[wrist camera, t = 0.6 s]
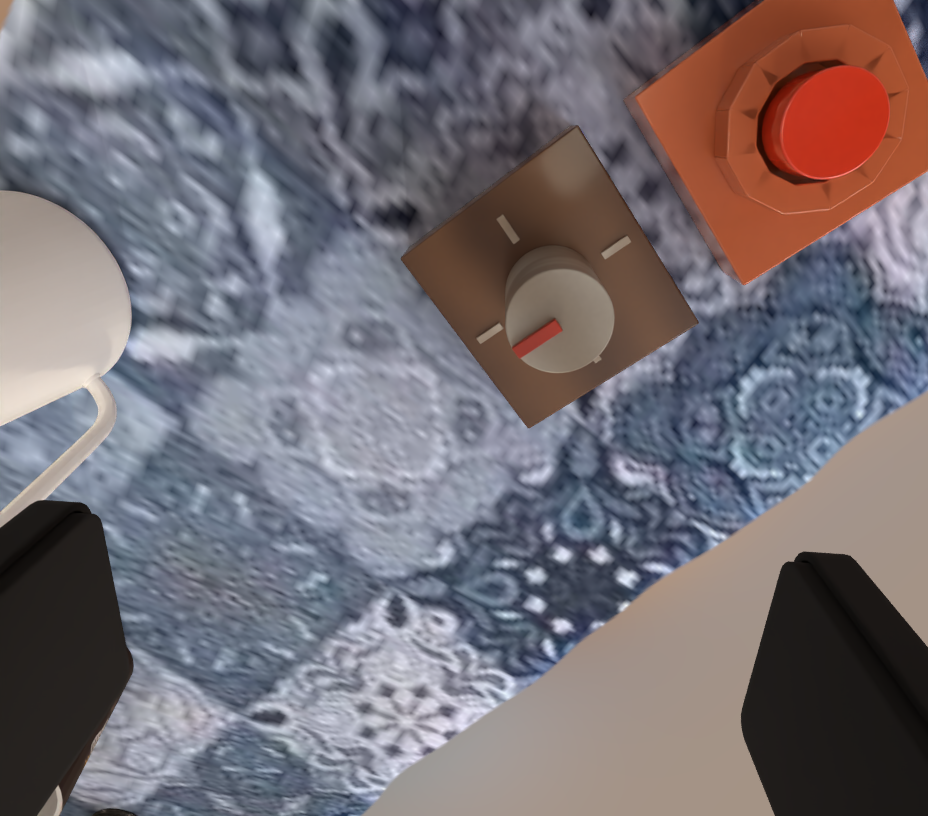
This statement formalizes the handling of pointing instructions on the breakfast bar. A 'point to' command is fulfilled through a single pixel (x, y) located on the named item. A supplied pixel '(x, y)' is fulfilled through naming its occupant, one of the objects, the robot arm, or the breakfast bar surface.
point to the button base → (741, 117)
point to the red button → (826, 122)
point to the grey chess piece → (113, 813)
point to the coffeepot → (56, 324)
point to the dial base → (536, 225)
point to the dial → (556, 310)
